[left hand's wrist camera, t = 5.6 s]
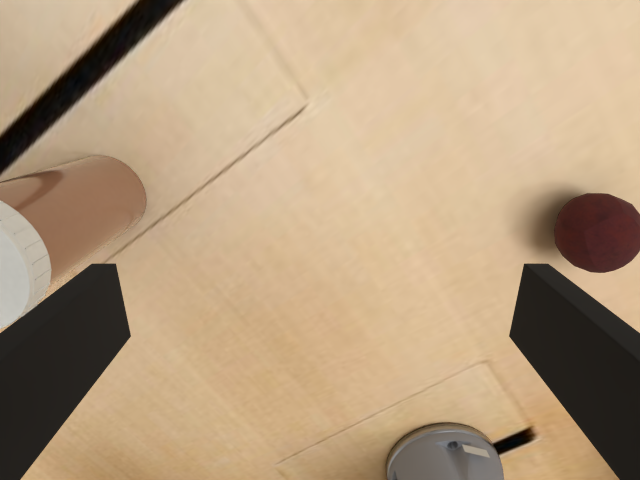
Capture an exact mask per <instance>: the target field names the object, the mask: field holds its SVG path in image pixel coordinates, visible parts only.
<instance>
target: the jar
mask: <svg viewBox="0 0 640 480" xmlns="http://www.w3.org/2000/svg"><path fill="white" fill-rule="evenodd" d="M0 201H3V202H4V203H6V204H7V205H9V206H10V207H12V208H13V209H15V210H16V211H17V212H19V213H20V214H21V215H22V216H23V217H24V218H25V219H26V220H27V221H28V222H29V223H30V224H31V225H32V226H33V227H34V229H35V230H36V231H37V232H38V234H39V236H40V237H41V239H42V240H43V242H44V245H45V247H46V249H47V252H48V254H49V258H50V264H51V269H52V271H51V279H50V285H49V287H50V286H51V285H53V284H54V283H55V282H57V281H58V280H60V279H61V278H62V277H64V276H65V275H67V274H68V273H69V272H71V271H72V270H73V269H75V268H76V267H78V266H79V265H80V264H82V263H83V262H84V261H86V260H87V259H89V258H90V257H91V256H93V255H94V254H96V253H97V252H98V251H100V250H101V249H102V248H104V247H105V246H107V245H108V244H109V243H111V242H112V241H113V240H115V239H116V238H118V237H119V236H120V235H122V234H123V233H125V232H126V231H127V230H129V229H130V228H131V227H133V226H134V225H136V224H137V223H138V222H139V220H140V219H141V218H142V216H143V214H144V211H145V207H146V194H145V190H144V187H143V185H142V183H141V181H140V179H139V178H138V176H137V175H136V174H135V172H134V171H133V170H132V169H131V168H130V167H128V166H127V165H126V164H124V163H122V162H121V161H119V160H117V159H114V158H111V157H107V156H91V157H87V158H83V159H80V160H76V161H73V162H69V163H66V164H62V165H59V166H55V167H52V168H48V169H45V170H41V171H37V172H34V173H30V174H27V175H23V176H20V177H16V178H13V179H9V180H6V181H2V182H0ZM49 287H48V288H49Z"/></svg>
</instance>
